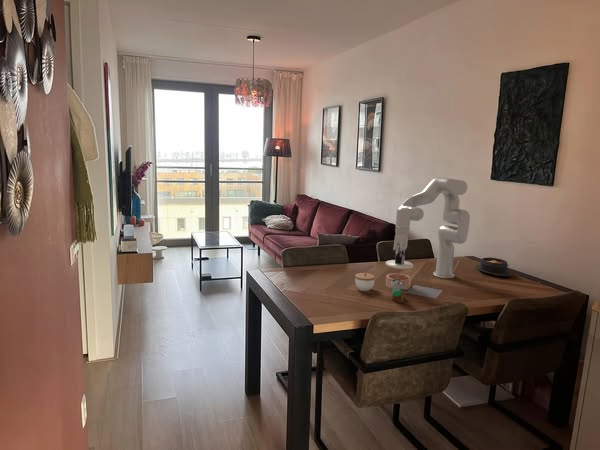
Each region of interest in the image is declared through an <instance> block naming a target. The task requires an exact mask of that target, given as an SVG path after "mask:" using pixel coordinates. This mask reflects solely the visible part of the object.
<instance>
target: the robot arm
mask: <svg viewBox="0 0 600 450" xmlns="http://www.w3.org/2000/svg"><path fill="white" fill-rule="evenodd" d="M467 191H468V184H467V182H466V181H465V180H460V179H455V178H450V177H440V176H439V177H438V176H437V177H434V178H433V179H431V181H429V183H428V184H427V185H426V186H425V187H424V188H423V190H422V191H421V192H418V193H416V194H414V195H412V196H410V197H408V198H407V199H406V200H405V201H403V202H402V204H400V207H397V209H396V216H395V217H396V219H395V229H394V232H395V235H394V243H393V251H395V256H396V260H395V259H394V260H395V263H399V264H401V260H402V257H401V254H403V255H405V254H406V253H405V252H406V249H407V248H408V239H409V237H408V236H409V235H408V234H410V228H411V227H410V226H411V222H412V221H414V222H418V221H421V220H422V219H423V217H425V216H424V215H425V212H424V210H423V209H422V208H421V207H420V206H425V205H428V204H432V203H433V202H434V201H436V199H437V197H439V196H440V194H441V193H442V195H443V198H444V204H443V211H442V220H443V221H444V223H447V224H444V225H441V226H439V228H438V229H437V239H438V240H437V241H438V243H437V244H438V246H437V255H436V256H437V257H436V266H435V271H433V273H432V275H433V276H435V277H437V278H441V279H453V278H455V274H454V273H453V266H454V257H455V256H454V255H455V245H454V244H459V245H461V244H465V242H466V241H467V240H468V239H467V238H468V234H469V230H470V229H469V228H470V222H471V215H470V212H469V211H468V210H465V209H462V208H460V196H462V195H464V194H465V193H467ZM449 224H451V225H449ZM454 225H456V226H454Z"/></svg>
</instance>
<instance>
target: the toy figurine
mask: <svg viewBox="0 0 600 450" xmlns="http://www.w3.org/2000/svg"><path fill="white" fill-rule="evenodd" d="M391 286H392V289H391V300H392V302H395V303H399V304H405V302H406V297H407V296H406V294H407V293H406V292H407V290H408V289H407V285H404V283H403V282H401V281H400V278H396V279H393V280H392V282H391ZM406 289H407V290H406Z"/></svg>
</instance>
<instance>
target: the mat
mask: <svg viewBox="0 0 600 450" xmlns="http://www.w3.org/2000/svg"><path fill="white" fill-rule="evenodd" d="M443 292H444V290H441V289H437V288H432V287H428V286H427V287H426V286H421V285H417V284H416V285H415V284H414V285H412V286H410V288H409V289H407V290H406V294H410V295H415V296H420V297H426V298H429V299H435V300H437V298H438V297H439V296H440V295H441V294H442V293H443Z"/></svg>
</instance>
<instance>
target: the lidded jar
mask: <svg viewBox="0 0 600 450" xmlns="http://www.w3.org/2000/svg"><path fill="white" fill-rule="evenodd" d="M354 277H355V279H354V280H355V285H356V287H357V289H358V290H359V291H361V292H370V290H371V289H372V288H373V287H374V285H375V279H376V276H375V275H374V274H371V273H367V272H360V273H355V275H354Z"/></svg>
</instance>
